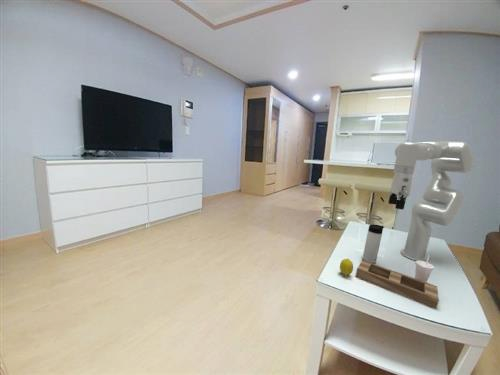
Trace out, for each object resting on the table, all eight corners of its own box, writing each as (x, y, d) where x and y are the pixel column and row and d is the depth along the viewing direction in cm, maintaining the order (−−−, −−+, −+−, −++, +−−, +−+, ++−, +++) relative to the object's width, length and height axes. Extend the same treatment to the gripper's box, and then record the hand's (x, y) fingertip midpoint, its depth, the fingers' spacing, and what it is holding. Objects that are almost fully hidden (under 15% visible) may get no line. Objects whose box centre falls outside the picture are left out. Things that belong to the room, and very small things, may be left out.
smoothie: (430, 290, 91) (438, 260, 88) (411, 284, 94) (418, 255, 91) (427, 283, 96) (435, 254, 94) (410, 277, 99) (417, 250, 97)
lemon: (336, 271, 100) (339, 255, 98) (347, 271, 100) (350, 255, 99) (342, 278, 94) (345, 261, 93) (354, 278, 95) (357, 262, 93)
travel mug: (378, 265, 108) (386, 228, 104) (364, 263, 109) (371, 226, 105) (373, 259, 114) (381, 224, 110) (360, 257, 115) (367, 222, 111)
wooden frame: (360, 267, 105) (362, 259, 104) (434, 294, 88) (437, 286, 87) (355, 276, 97) (357, 268, 96) (436, 309, 80) (438, 299, 79)
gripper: (421, 172, 88) (412, 212, 91) (405, 169, 104) (397, 203, 108) (401, 170, 90) (392, 209, 93) (388, 168, 107) (381, 201, 110)
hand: (395, 206), depth 100 cm, fingers open, 9 cm apart
